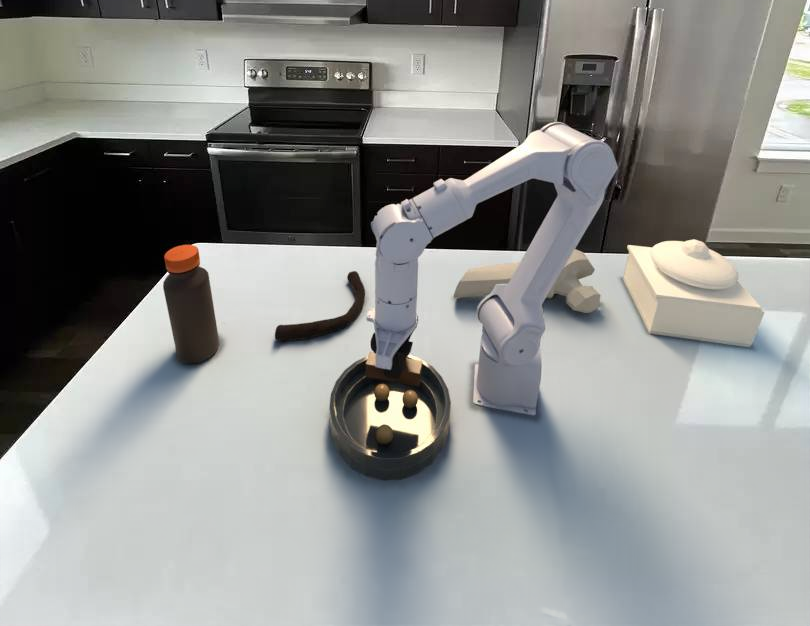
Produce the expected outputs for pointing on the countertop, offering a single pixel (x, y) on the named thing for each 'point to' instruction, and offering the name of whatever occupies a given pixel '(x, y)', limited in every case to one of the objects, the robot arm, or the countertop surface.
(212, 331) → the bottle
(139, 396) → the countertop surface
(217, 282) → the countertop surface
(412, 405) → the bead
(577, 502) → the countertop surface
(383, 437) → the bead
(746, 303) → the butter dish
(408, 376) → the block
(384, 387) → the bead
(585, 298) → the faceted mallet
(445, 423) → the bowl
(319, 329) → the branch
